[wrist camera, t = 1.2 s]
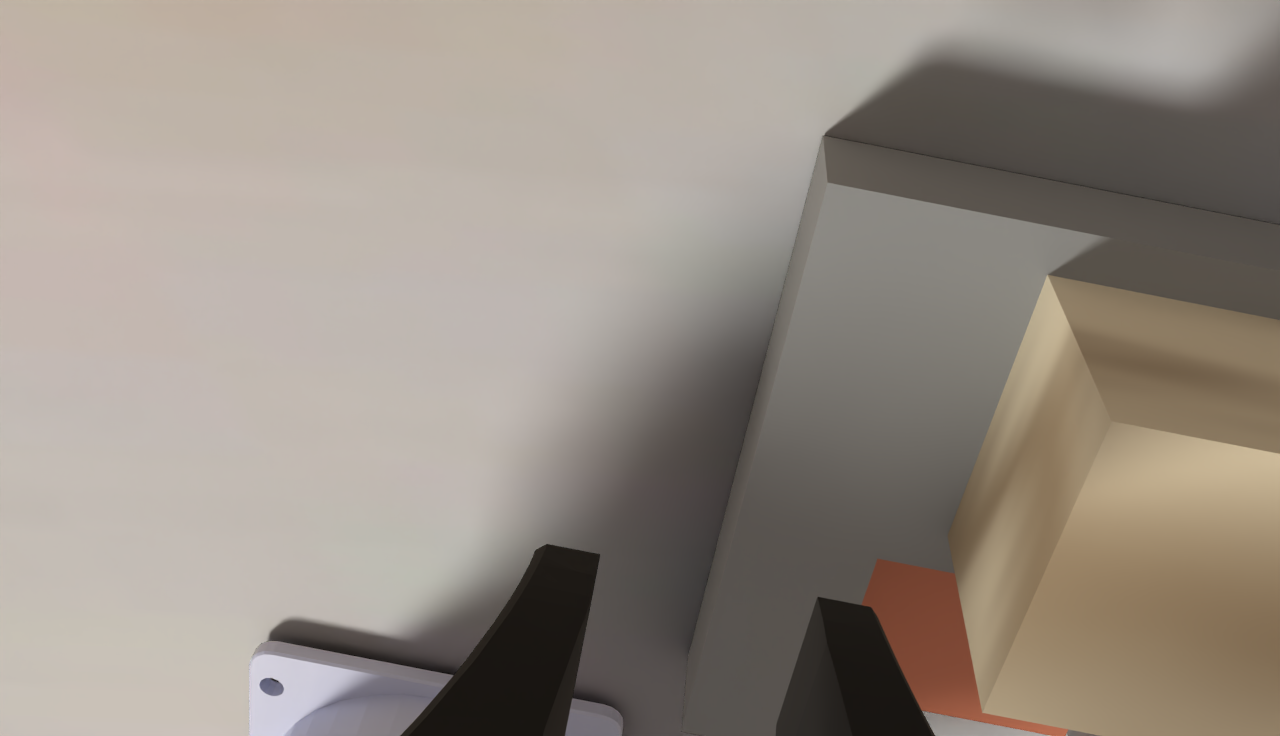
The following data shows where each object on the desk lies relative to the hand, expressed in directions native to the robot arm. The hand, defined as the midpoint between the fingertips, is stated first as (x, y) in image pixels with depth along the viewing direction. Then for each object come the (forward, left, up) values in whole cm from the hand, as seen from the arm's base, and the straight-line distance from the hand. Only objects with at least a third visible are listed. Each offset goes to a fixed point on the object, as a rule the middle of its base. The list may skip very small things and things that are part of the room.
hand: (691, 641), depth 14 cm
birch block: (0, -7, -6) cm, 9 cm away
